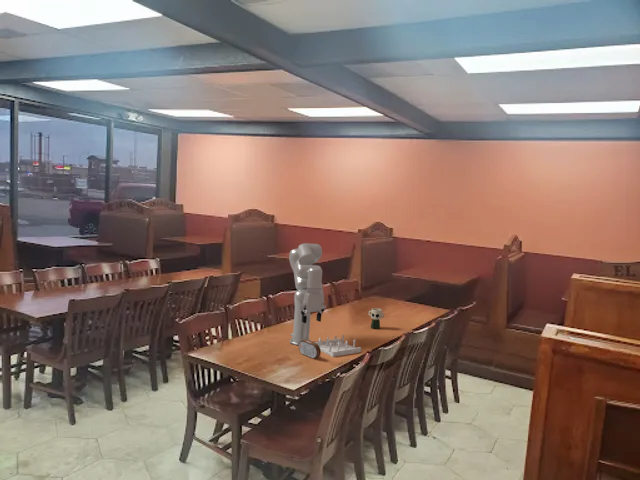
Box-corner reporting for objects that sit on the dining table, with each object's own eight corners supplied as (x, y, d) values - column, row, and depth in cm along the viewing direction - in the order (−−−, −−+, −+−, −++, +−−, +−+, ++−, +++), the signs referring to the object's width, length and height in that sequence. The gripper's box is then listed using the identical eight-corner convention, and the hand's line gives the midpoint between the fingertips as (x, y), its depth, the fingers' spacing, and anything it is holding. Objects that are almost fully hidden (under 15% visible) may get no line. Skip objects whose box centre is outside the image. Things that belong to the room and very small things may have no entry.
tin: (320, 359, 277) (321, 344, 276) (316, 360, 274) (317, 345, 274) (301, 352, 287) (302, 337, 286) (297, 353, 285) (298, 338, 284)
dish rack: (312, 346, 298) (313, 336, 297) (339, 342, 310) (340, 332, 310) (332, 356, 283) (333, 345, 282) (360, 352, 295) (361, 341, 295)
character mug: (365, 327, 349) (367, 309, 348) (369, 325, 356) (370, 307, 354) (381, 330, 345) (383, 311, 344) (384, 328, 352) (386, 309, 350)
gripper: (322, 288, 285) (319, 318, 287) (296, 290, 275) (294, 321, 276) (330, 291, 279) (328, 322, 281) (304, 292, 269) (302, 325, 270)
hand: (311, 321), depth 279 cm, fingers open, 9 cm apart
